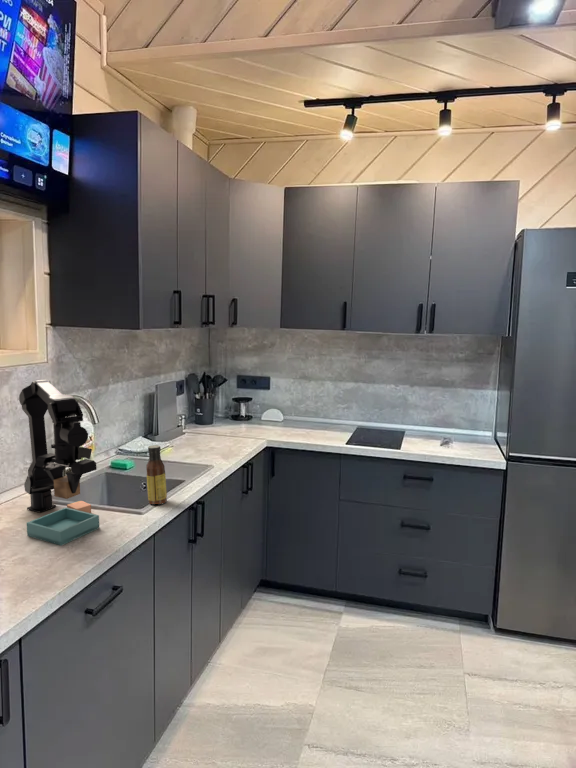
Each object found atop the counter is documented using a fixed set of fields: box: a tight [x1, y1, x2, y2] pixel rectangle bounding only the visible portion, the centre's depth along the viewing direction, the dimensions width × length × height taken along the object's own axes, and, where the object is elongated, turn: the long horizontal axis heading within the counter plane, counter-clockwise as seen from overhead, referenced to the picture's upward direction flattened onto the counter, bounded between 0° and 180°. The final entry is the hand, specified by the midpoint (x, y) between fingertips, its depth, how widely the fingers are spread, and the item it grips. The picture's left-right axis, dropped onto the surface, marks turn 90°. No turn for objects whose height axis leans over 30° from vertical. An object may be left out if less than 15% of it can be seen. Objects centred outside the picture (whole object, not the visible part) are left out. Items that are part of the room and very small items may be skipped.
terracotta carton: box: [66, 500, 92, 514], centre depth 174 cm, size 6×5×3 cm
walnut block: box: [53, 475, 81, 500], centre depth 158 cm, size 5×5×5 cm
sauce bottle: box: [145, 444, 168, 505], centre depth 183 cm, size 7×6×20 cm
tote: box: [26, 506, 100, 546], centre depth 159 cm, size 14×14×4 cm
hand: (67, 491), depth 159 cm, fingers closed on walnut block, 5 cm apart
